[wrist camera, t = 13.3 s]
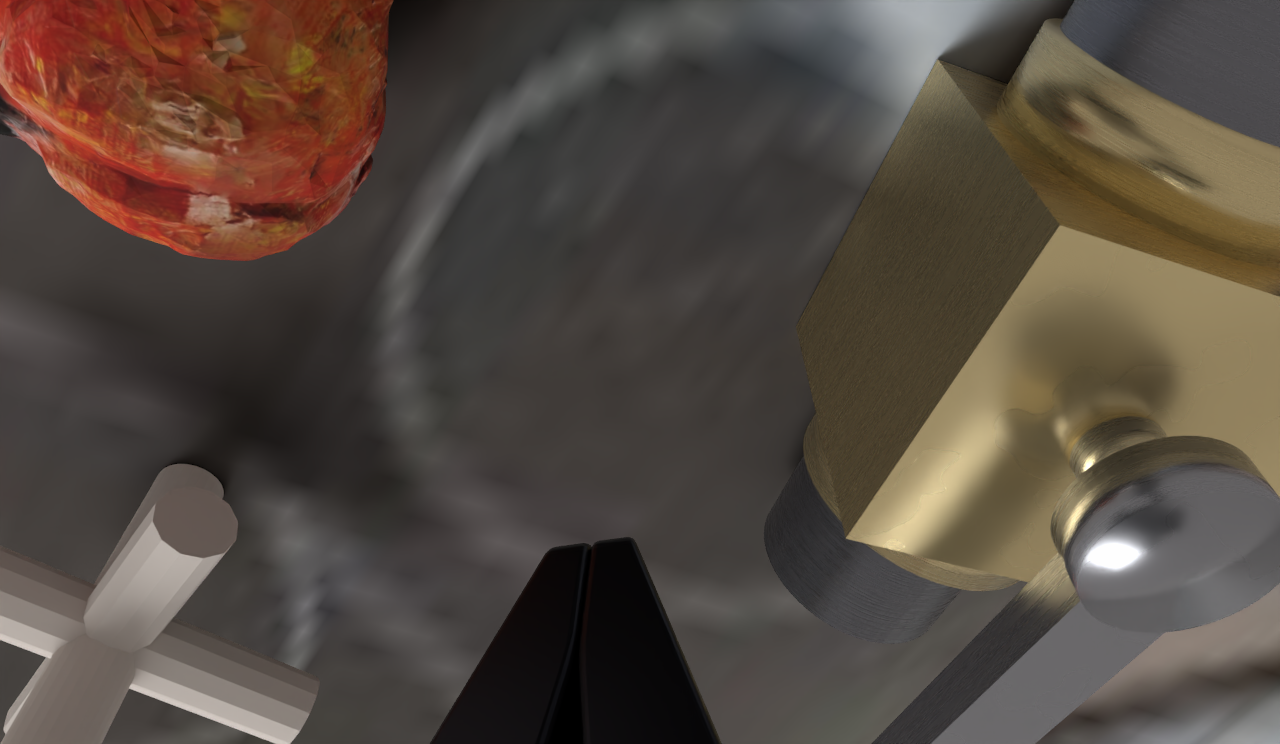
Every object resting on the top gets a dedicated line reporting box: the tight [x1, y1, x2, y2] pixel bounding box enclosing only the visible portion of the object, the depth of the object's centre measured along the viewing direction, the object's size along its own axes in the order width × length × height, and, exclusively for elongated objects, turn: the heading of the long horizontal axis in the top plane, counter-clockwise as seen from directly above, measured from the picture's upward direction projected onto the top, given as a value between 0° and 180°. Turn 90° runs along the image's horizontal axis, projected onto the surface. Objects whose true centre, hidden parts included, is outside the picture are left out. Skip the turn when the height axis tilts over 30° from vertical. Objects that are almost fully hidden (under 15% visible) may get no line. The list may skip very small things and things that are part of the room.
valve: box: [764, 0, 1280, 644], centre depth 19 cm, size 17×7×8 cm, turn 162°
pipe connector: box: [0, 464, 320, 744], centre depth 23 cm, size 10×10×10 cm
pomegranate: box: [0, 0, 393, 261], centre depth 15 cm, size 7×7×10 cm
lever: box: [872, 436, 1280, 744], centre depth 18 cm, size 15×3×3 cm, turn 159°
